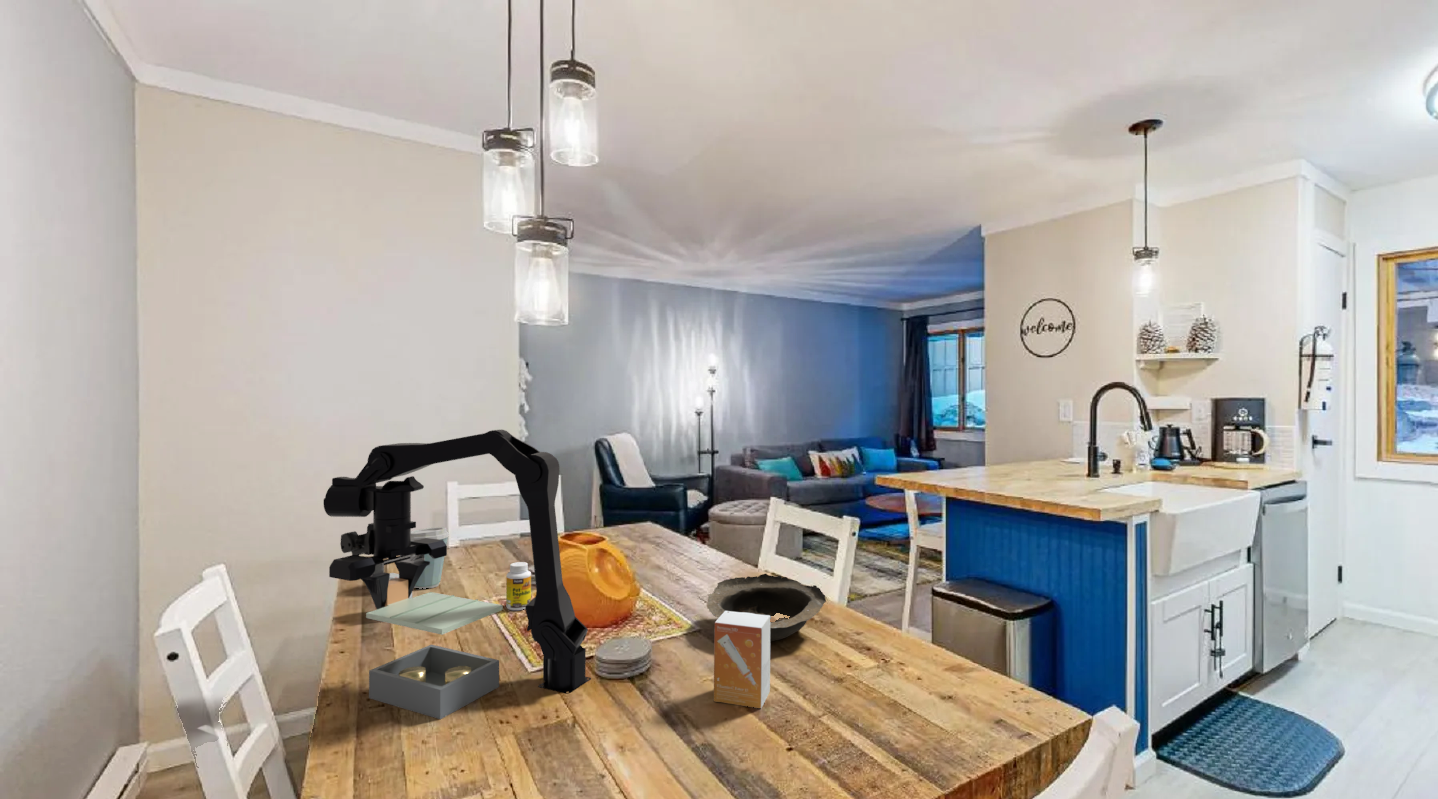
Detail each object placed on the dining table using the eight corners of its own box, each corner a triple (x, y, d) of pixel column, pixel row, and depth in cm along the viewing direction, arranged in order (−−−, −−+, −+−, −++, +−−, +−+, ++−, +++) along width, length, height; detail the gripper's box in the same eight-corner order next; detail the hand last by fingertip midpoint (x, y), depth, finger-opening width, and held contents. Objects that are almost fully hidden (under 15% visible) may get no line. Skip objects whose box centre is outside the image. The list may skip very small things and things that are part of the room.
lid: (502, 621, 106) (502, 586, 106) (441, 648, 95) (442, 608, 95) (416, 604, 114) (416, 571, 114) (351, 627, 103) (352, 590, 103)
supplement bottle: (509, 613, 144) (510, 568, 144) (503, 606, 149) (503, 563, 149) (534, 608, 147) (534, 564, 147) (527, 602, 152) (527, 559, 152)
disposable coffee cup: (394, 590, 161) (394, 532, 161) (421, 579, 171) (421, 524, 171) (432, 593, 159) (432, 533, 159) (457, 581, 169) (457, 525, 170)
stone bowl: (791, 605, 149) (793, 567, 148) (845, 654, 125) (847, 609, 125) (691, 615, 141) (692, 575, 140) (727, 669, 117) (729, 620, 117)
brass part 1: (431, 690, 104) (431, 668, 104) (410, 700, 101) (410, 678, 101) (414, 685, 106) (414, 664, 106) (393, 695, 102) (393, 674, 102)
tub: (499, 690, 106) (499, 660, 106) (440, 723, 95) (440, 689, 95) (431, 672, 113) (431, 644, 113) (369, 701, 102) (369, 670, 102)
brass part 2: (476, 689, 105) (476, 668, 105) (457, 700, 101) (457, 678, 101) (458, 685, 106) (459, 664, 106) (439, 695, 103) (439, 673, 103)
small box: (713, 702, 102) (713, 621, 102) (724, 685, 108) (724, 609, 108) (761, 710, 99) (762, 627, 99) (770, 692, 105) (771, 614, 105)
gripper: (406, 505, 120) (406, 587, 120) (307, 522, 103) (307, 617, 103) (449, 509, 115) (449, 595, 115) (352, 528, 98) (352, 628, 98)
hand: (392, 607), depth 108 cm, fingers closed on lid, 4 cm apart
